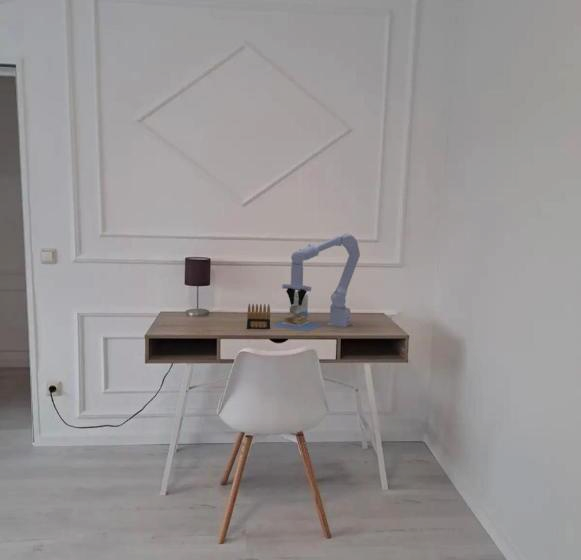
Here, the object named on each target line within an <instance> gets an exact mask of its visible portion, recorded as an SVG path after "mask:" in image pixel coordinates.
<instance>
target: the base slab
mask: <svg viewBox="0 0 581 560" xmlns="http://www.w3.org/2000/svg"><path fill="white" fill-rule="evenodd" d="M307 319H308V315H307V316H302V317H299V318H294V317H290V314H289V315H287V316H284V320H285V321H284V320H283V321H284V323H287V324H294V325H301V324H304V323H306V322H308V320H307Z"/></svg>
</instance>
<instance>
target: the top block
mask: <svg viewBox="0 0 581 560" xmlns="http://www.w3.org/2000/svg"><path fill="white" fill-rule="evenodd" d="M289 315H290V317H294V318H299V317H302V306H296V305H293V306H291V305H290V306H289Z"/></svg>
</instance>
